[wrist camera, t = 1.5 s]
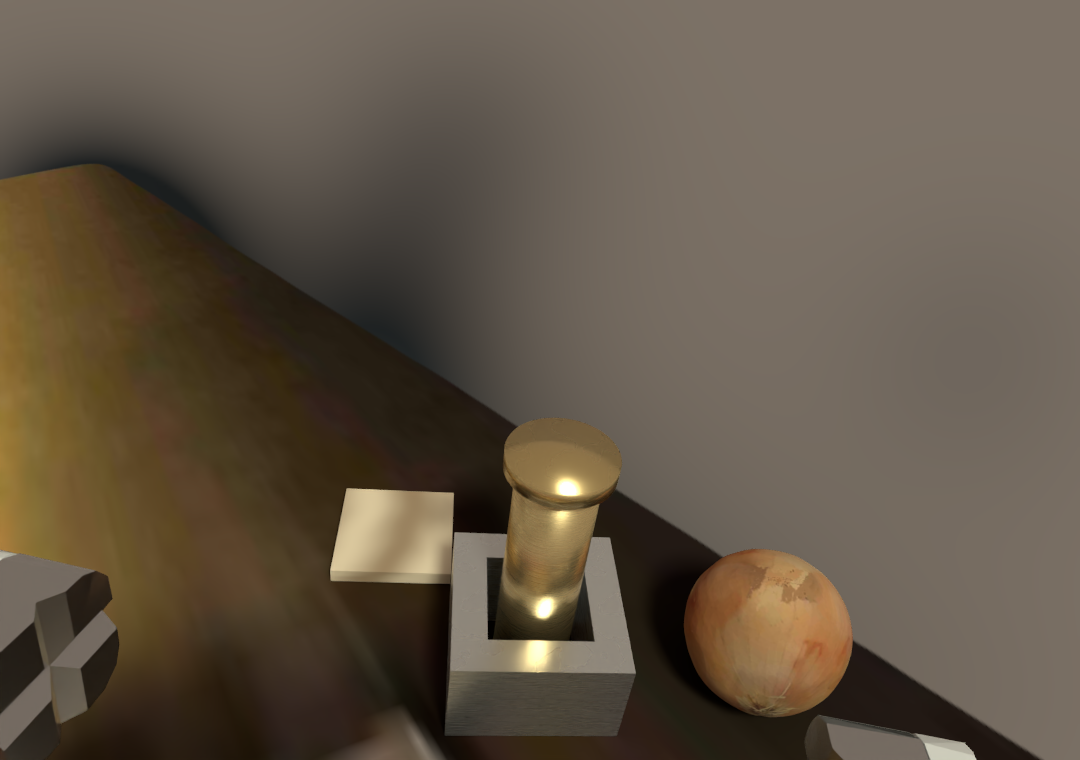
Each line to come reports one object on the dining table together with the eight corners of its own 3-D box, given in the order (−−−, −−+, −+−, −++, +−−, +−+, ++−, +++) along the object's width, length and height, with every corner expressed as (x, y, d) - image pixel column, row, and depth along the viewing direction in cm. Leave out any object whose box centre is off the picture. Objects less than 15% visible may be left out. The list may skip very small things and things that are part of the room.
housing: (444, 735, 44) (450, 670, 41) (449, 595, 52) (454, 532, 49) (616, 736, 45) (635, 673, 42) (595, 599, 54) (609, 537, 50)
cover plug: (479, 703, 46) (506, 491, 36) (479, 620, 51) (502, 414, 41) (579, 704, 47) (630, 497, 37) (569, 622, 52) (612, 420, 42)
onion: (797, 621, 54) (846, 517, 48) (841, 758, 46) (906, 653, 40) (661, 608, 54) (694, 502, 48) (680, 745, 45) (723, 637, 40)
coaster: (330, 580, 52) (330, 570, 52) (347, 498, 59) (346, 488, 58) (450, 583, 53) (450, 574, 53) (453, 502, 60) (453, 493, 59)
